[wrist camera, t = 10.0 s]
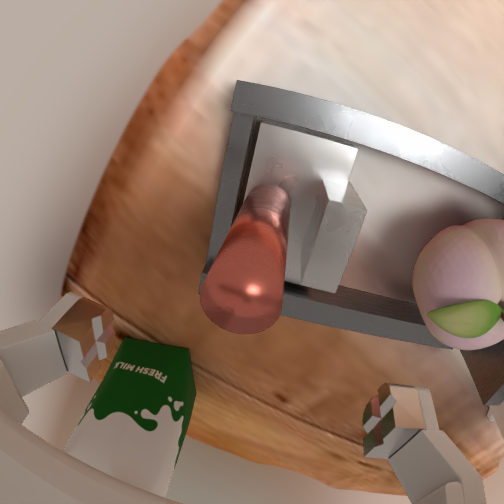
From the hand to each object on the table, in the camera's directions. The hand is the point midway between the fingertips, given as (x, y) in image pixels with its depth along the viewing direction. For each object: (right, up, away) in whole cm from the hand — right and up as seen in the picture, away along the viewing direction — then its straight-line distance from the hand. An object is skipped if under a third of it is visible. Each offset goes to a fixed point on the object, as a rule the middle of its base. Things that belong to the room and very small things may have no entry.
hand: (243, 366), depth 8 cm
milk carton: (-9, -9, +22) cm, 26 cm away
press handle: (+3, +6, +13) cm, 14 cm away
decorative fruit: (+15, +3, +13) cm, 20 cm away
